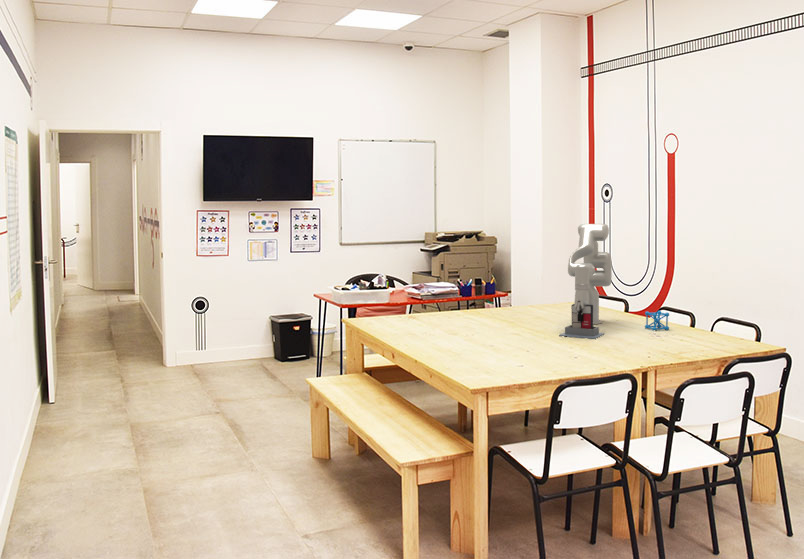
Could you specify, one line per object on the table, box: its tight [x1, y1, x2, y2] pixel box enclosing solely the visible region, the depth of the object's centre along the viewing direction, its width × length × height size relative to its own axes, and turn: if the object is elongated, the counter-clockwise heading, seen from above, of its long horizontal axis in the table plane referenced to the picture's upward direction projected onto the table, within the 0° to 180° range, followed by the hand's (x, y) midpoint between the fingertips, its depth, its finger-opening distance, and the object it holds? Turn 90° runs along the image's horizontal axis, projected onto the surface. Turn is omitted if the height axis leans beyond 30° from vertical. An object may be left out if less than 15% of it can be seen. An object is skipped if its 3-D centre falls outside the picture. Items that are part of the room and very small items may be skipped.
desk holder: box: [558, 324, 605, 340], centre depth 397 cm, size 16×20×4 cm
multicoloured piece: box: [571, 303, 594, 329], centre depth 397 cm, size 11×4×15 cm, turn 60°
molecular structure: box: [644, 310, 670, 331], centre depth 411 cm, size 10×10×10 cm
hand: (582, 320), depth 397 cm, fingers closed on multicoloured piece, 3 cm apart
